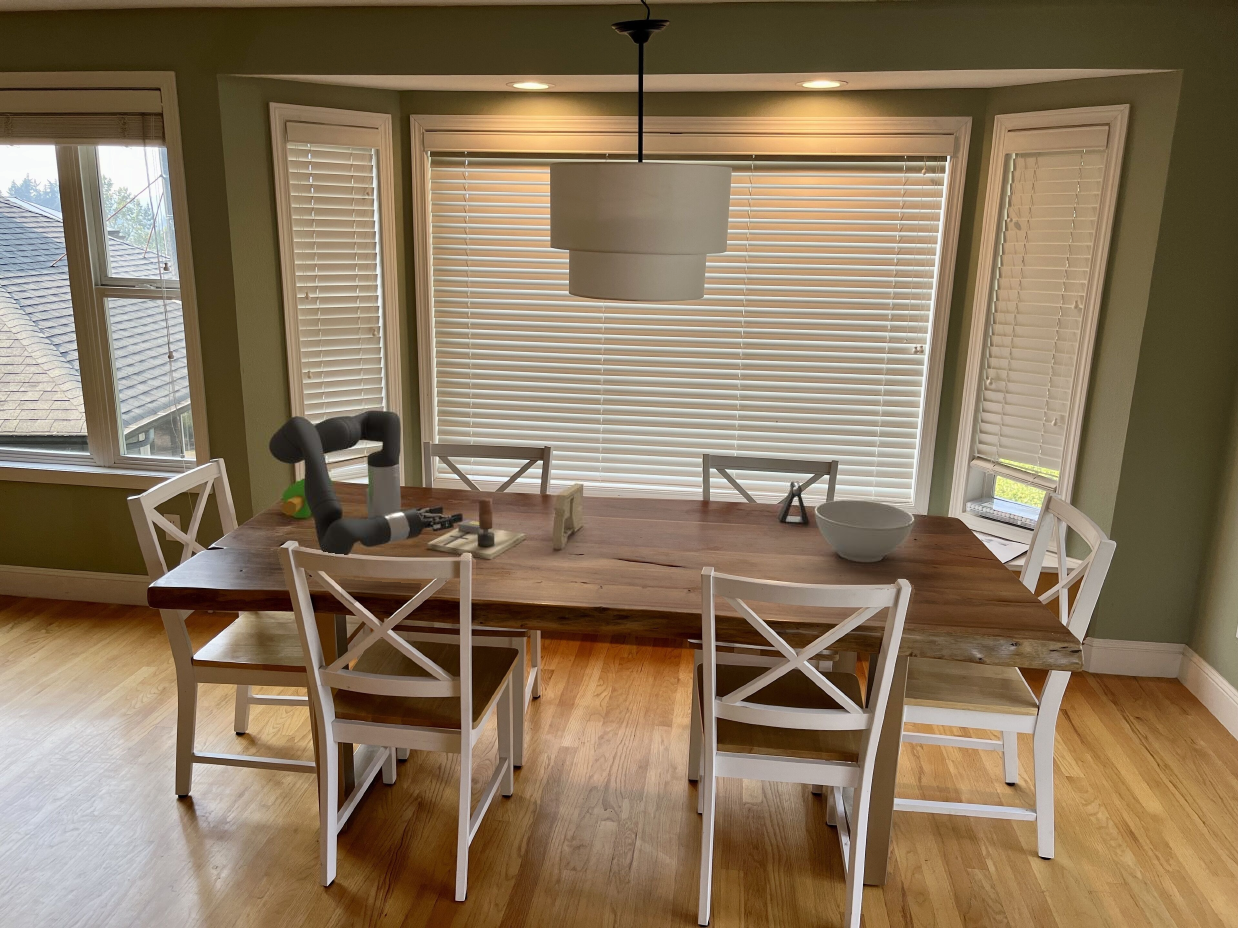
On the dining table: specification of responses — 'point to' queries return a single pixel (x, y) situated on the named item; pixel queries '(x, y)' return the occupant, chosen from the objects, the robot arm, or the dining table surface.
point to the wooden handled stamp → (485, 523)
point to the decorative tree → (296, 501)
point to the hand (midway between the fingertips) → (451, 513)
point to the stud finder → (470, 526)
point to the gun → (567, 514)
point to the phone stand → (787, 505)
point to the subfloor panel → (475, 543)
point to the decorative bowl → (863, 528)
